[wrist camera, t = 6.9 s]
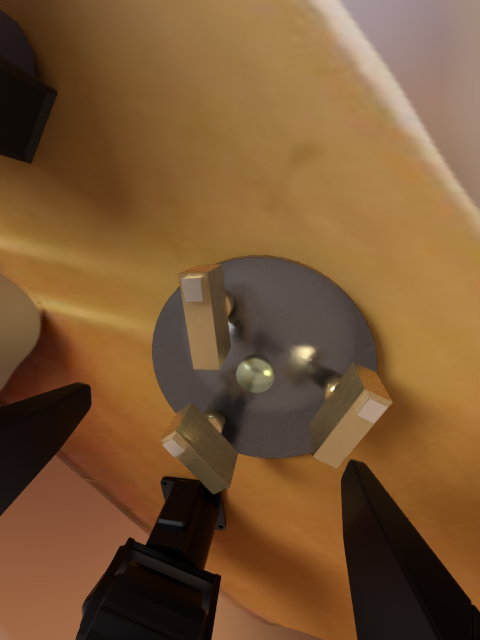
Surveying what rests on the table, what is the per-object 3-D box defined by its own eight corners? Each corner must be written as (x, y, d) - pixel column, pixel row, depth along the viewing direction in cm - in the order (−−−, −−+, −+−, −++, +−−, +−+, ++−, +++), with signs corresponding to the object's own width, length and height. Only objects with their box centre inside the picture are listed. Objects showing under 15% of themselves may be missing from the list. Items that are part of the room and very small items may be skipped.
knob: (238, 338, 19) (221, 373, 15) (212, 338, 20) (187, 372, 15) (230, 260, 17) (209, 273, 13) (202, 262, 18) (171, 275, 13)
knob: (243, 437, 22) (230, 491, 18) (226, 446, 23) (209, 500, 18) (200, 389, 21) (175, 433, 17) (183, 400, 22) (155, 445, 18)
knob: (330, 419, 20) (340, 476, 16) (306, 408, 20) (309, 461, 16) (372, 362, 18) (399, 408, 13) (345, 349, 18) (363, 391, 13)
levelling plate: (363, 452, 22) (370, 475, 20) (178, 437, 26) (168, 455, 24) (381, 246, 17) (393, 249, 15) (142, 262, 20) (125, 267, 18)
